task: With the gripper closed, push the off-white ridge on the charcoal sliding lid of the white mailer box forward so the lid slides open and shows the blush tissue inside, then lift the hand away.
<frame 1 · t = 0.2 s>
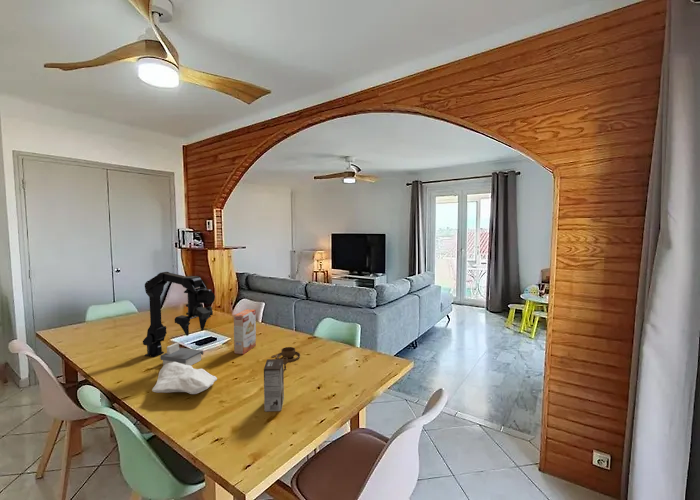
hand: (194, 332, 169), 14 cm above the table, tool pointing down, fingers open, 9 cm apart
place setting: (284, 361, 171), on the table
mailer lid: (182, 351, 168), point 5 cm above the table, slide at 0.0 cm
crumpled cloth: (182, 389, 141), on the table
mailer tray: (182, 362, 168), on the table
coffee box: (274, 405, 128), on the table
cracker box: (245, 350, 185), on the table
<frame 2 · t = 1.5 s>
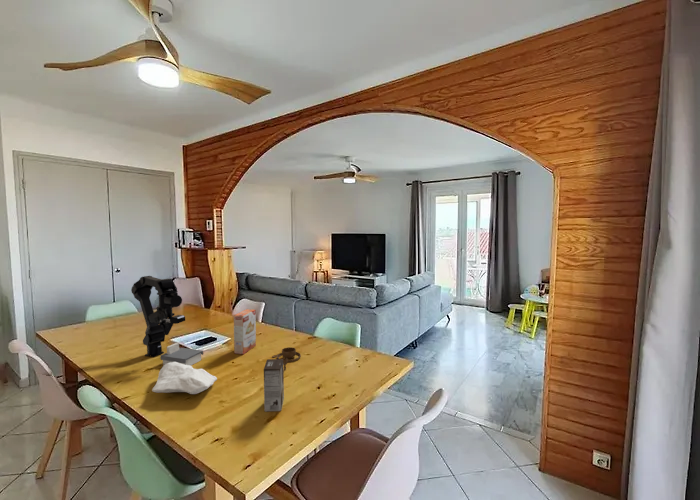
hand: (166, 334, 170), 13 cm above the table, tool pointing down, fingers closed
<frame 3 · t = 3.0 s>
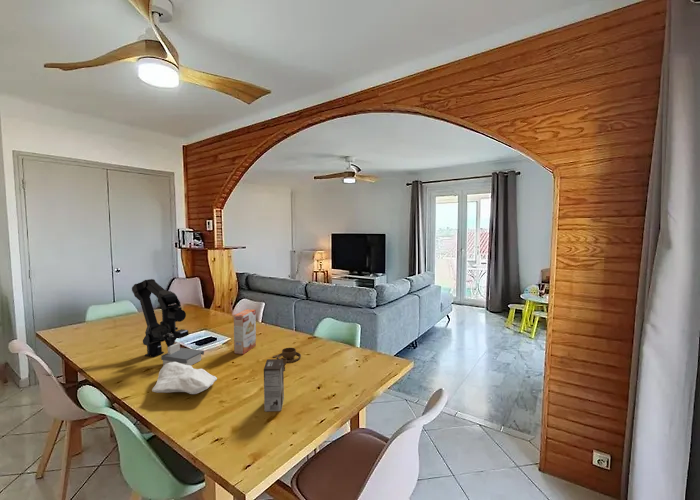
hand: (170, 349, 170), 6 cm above the table, tool pointing down, fingers closed
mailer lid: (182, 351, 168), point 5 cm above the table, slide at 0.5 cm, touching gripper
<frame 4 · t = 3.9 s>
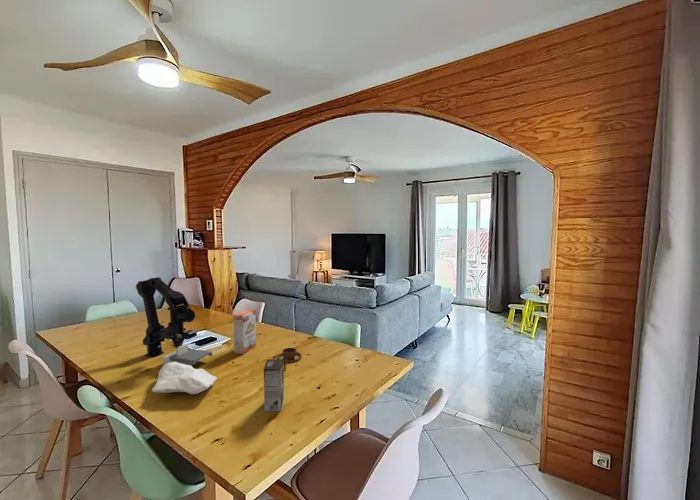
hand: (178, 350, 168), 6 cm above the table, tool pointing down, fingers closed
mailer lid: (191, 352, 166), point 5 cm above the table, slide at 5.5 cm, touching gripper
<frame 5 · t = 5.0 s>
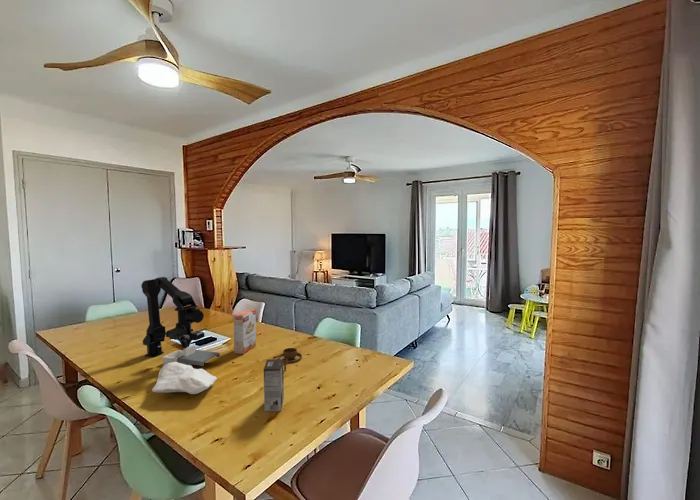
hand: (185, 351, 167), 6 cm above the table, tool pointing down, fingers closed
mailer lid: (198, 353, 165), point 5 cm above the table, slide at 10.0 cm, touching gripper
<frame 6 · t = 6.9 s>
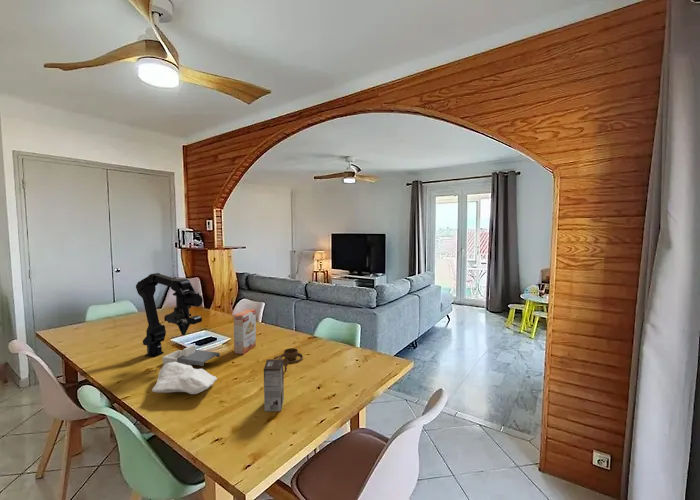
hand: (183, 335, 170), 13 cm above the table, tool pointing down, fingers closed
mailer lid: (198, 353, 165), point 5 cm above the table, slide at 10.0 cm
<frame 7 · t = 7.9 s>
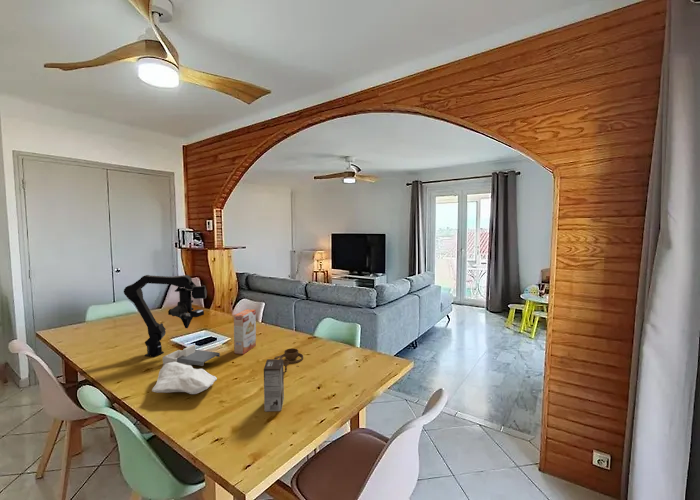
hand: (186, 328, 181), 13 cm above the table, tool pointing down, fingers closed
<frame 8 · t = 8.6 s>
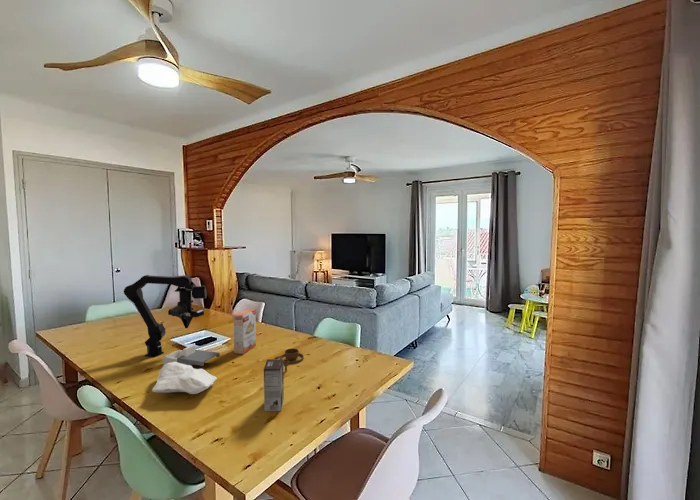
hand: (186, 328, 181), 13 cm above the table, tool pointing down, fingers closed
at the end: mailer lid slide at 10.0 cm; the gripper is holding nothing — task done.
